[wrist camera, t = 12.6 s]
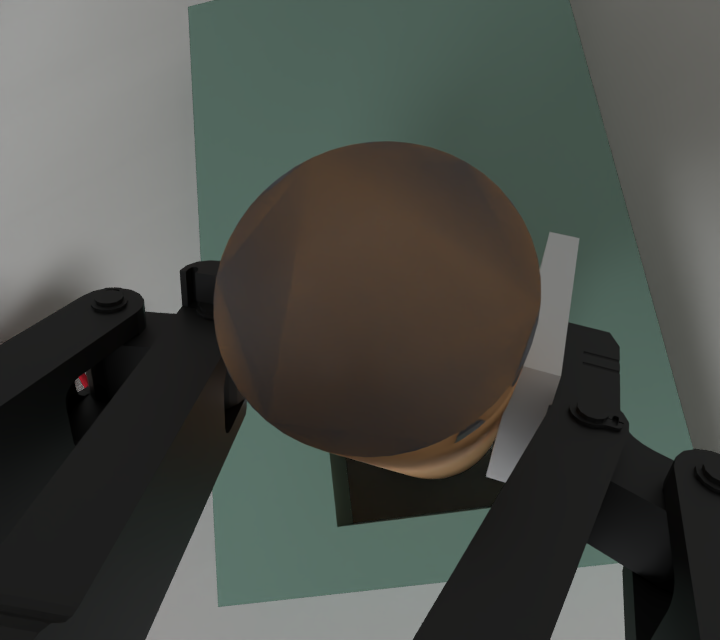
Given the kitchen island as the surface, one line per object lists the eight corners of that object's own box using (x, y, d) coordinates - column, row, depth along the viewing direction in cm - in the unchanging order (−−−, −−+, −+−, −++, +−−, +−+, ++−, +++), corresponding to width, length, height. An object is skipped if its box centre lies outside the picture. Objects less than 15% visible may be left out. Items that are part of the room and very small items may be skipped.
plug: (354, 352, 20) (205, 174, 9) (487, 330, 20) (505, 112, 9) (371, 488, 19) (222, 479, 8) (514, 469, 19) (576, 430, 7)
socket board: (213, 49, 27) (188, 6, 24) (539, -28, 25) (546, -83, 23) (248, 593, 20) (217, 606, 18) (689, 544, 19) (721, 551, 16)
